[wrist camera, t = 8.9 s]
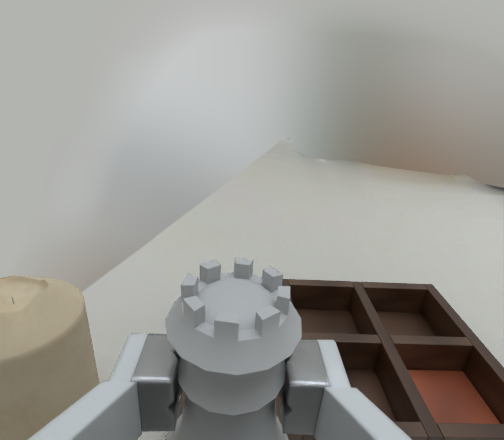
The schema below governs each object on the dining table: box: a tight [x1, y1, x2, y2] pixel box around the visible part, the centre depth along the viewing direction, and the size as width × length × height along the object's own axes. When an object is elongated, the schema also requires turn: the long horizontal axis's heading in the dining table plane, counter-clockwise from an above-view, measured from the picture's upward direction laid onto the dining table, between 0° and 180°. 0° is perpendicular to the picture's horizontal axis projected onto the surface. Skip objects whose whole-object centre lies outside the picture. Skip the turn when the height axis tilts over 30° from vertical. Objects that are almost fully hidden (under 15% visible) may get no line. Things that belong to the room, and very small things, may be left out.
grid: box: [177, 279, 504, 440], centre depth 23 cm, size 20×13×3 cm
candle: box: [0, 276, 99, 440], centre depth 17 cm, size 6×6×10 cm
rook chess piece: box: [165, 258, 302, 440], centre depth 9 cm, size 4×4×8 cm
